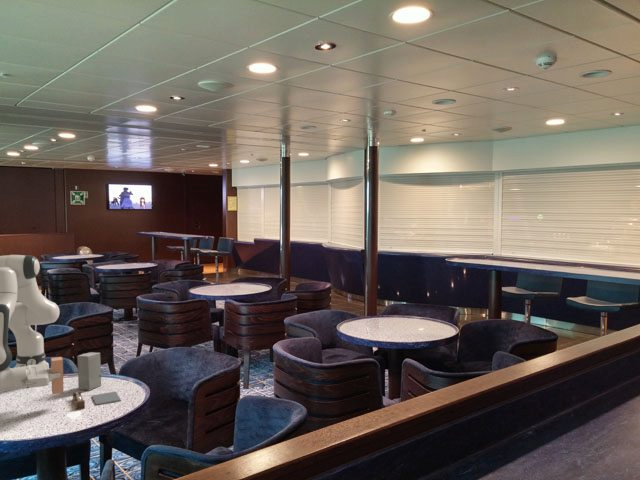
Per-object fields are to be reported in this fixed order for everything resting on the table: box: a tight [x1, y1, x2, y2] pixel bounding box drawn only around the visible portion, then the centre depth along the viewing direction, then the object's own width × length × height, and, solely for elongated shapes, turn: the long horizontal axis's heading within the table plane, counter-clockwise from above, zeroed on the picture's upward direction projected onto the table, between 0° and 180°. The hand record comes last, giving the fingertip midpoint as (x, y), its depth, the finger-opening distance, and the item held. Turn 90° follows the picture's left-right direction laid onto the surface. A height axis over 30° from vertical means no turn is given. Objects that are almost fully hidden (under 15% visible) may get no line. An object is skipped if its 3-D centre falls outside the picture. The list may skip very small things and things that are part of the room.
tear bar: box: [72, 390, 86, 410], centre depth 221 cm, size 14×3×3 cm, turn 31°
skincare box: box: [76, 351, 102, 391], centre depth 241 cm, size 8×7×16 cm
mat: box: [91, 391, 121, 406], centre depth 227 cm, size 12×10×1 cm
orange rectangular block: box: [50, 356, 65, 395], centre depth 216 cm, size 5×4×14 cm
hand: (59, 372), depth 217 cm, fingers closed on orange rectangular block, 5 cm apart
